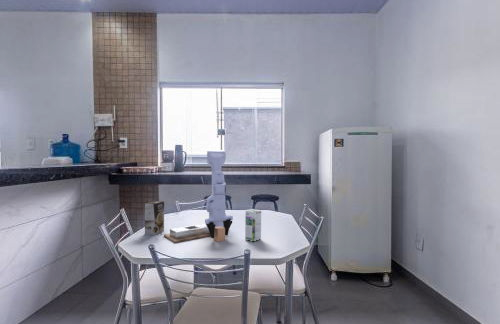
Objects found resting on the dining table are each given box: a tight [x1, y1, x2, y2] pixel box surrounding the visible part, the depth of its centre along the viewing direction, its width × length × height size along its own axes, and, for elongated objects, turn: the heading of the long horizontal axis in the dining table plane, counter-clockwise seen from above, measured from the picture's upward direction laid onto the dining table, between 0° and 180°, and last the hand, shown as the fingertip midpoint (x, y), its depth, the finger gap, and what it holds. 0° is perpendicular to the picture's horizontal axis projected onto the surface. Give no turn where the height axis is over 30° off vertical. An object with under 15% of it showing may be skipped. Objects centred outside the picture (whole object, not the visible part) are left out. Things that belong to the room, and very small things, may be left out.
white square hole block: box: [169, 223, 210, 239], centre depth 142 cm, size 20×8×3 cm, turn 128°
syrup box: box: [244, 208, 262, 242], centre depth 135 cm, size 6×6×14 cm
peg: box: [213, 226, 226, 242], centre depth 134 cm, size 4×4×6 cm
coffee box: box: [144, 200, 165, 236], centre depth 147 cm, size 9×6×16 cm
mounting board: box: [163, 232, 211, 244], centre depth 142 cm, size 24×14×1 cm, turn 128°
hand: (219, 236), depth 134 cm, fingers open, 7 cm apart
